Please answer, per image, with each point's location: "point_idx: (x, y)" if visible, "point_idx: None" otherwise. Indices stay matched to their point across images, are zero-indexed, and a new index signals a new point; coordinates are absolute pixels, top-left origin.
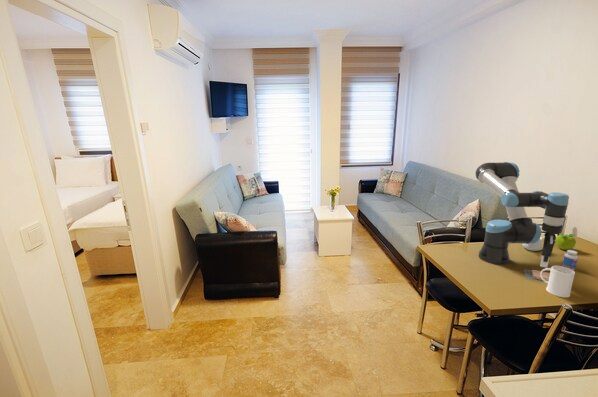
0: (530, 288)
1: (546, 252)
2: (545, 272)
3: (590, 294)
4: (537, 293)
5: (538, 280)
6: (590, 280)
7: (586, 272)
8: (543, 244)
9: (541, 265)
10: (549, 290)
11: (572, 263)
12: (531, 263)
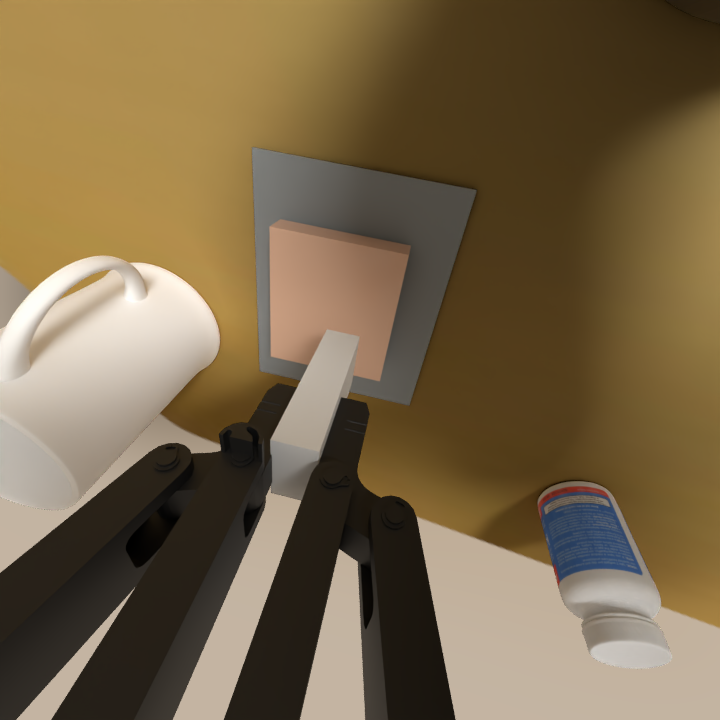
0: (79, 144)
1: (84, 519)
2: (381, 346)
3: None
4: (38, 180)
5: (265, 255)
6: (414, 511)
7: (515, 537)
8: (437, 659)
9: (321, 342)
10: (107, 274)
11: (549, 546)
12: (648, 308)
